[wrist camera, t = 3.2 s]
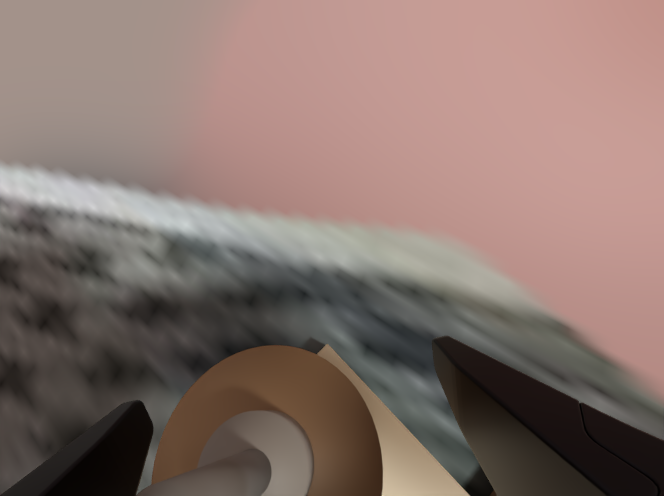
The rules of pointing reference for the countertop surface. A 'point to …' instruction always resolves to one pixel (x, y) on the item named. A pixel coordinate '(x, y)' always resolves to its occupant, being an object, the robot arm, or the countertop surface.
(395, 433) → the panel
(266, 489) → the awl
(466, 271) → the countertop surface
